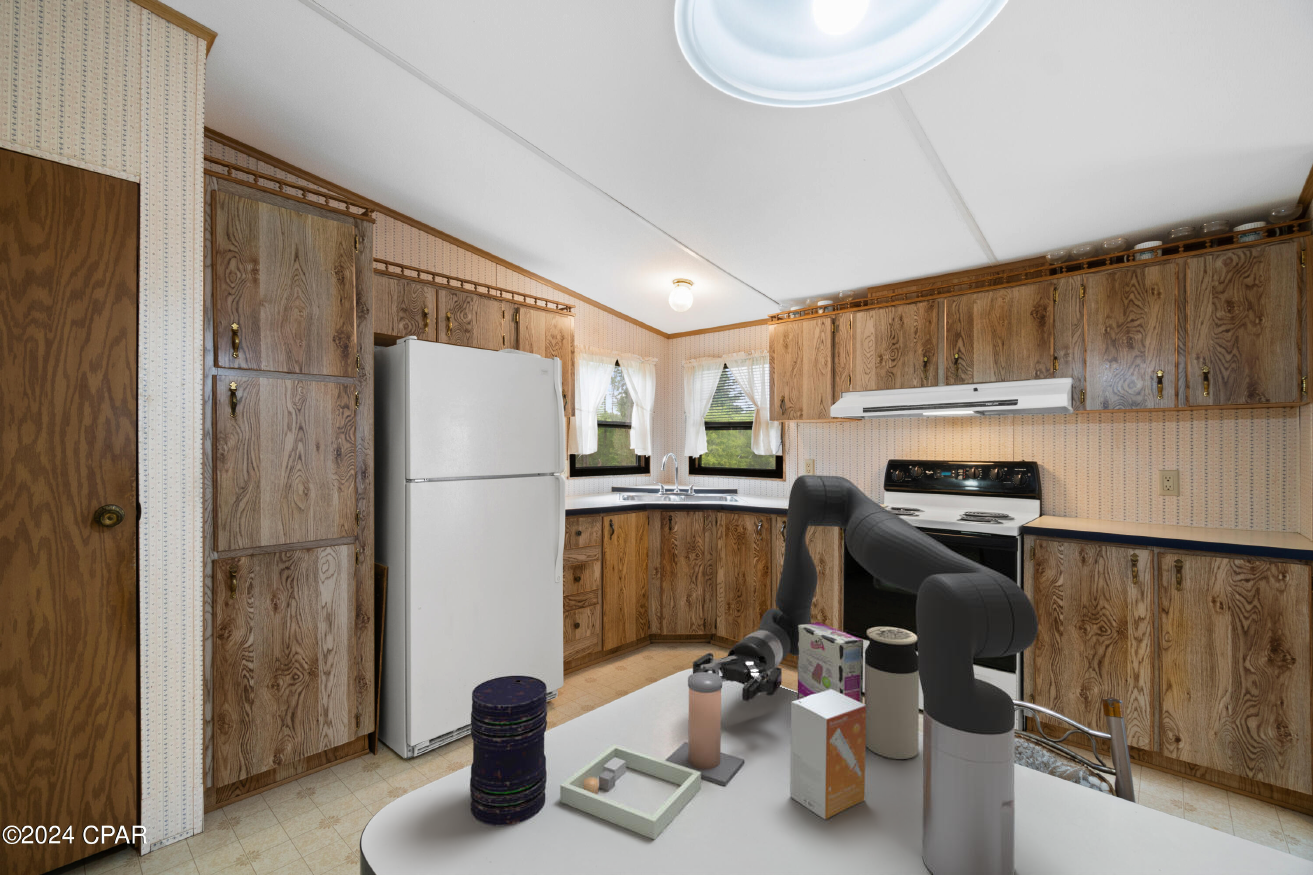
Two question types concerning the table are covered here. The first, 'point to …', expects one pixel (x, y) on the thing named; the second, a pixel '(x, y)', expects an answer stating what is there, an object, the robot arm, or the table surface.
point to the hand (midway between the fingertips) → (719, 688)
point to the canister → (704, 720)
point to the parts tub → (609, 768)
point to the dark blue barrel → (508, 750)
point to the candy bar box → (829, 662)
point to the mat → (717, 775)
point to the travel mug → (892, 693)
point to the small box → (827, 752)
